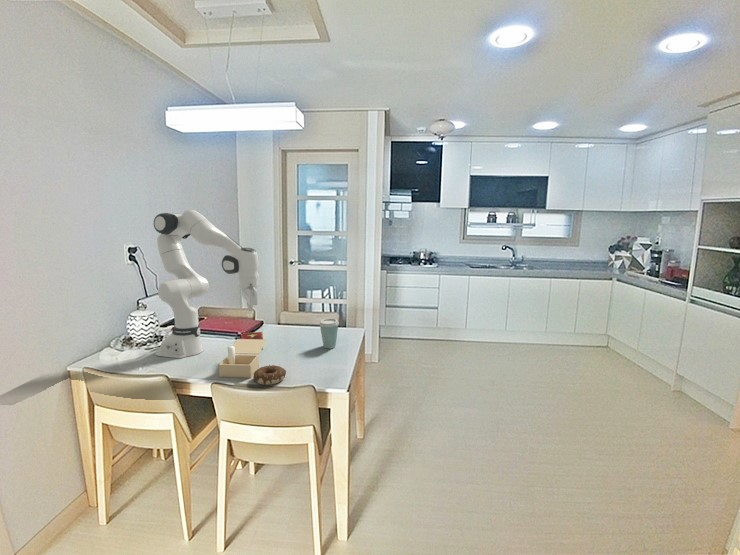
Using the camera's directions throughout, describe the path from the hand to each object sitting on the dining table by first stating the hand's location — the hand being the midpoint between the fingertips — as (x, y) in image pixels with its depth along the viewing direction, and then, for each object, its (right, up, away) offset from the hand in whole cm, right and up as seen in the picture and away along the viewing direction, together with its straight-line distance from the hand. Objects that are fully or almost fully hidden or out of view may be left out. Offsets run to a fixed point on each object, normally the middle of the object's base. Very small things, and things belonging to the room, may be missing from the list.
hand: (250, 310), depth 188 cm
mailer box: (-2, -28, -8) cm, 29 cm away
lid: (-2, -18, +2) cm, 18 cm away
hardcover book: (-7, -22, +28) cm, 36 cm away
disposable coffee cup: (+35, -22, +27) cm, 50 cm away
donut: (+14, -30, -15) cm, 36 cm away
